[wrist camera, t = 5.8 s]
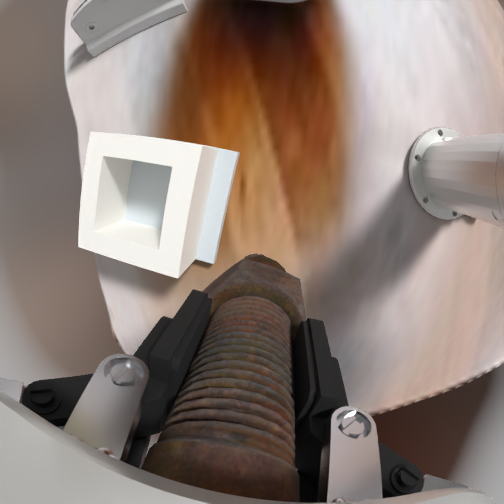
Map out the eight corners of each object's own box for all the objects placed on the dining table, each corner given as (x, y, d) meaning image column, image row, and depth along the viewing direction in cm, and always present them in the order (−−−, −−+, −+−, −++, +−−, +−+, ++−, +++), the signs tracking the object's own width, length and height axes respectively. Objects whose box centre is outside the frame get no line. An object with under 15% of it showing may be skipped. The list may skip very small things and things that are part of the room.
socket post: (239, 152, 32) (226, 147, 24) (215, 260, 36) (198, 286, 28) (115, 133, 32) (77, 128, 24) (102, 228, 36) (65, 244, 28)
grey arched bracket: (92, 58, 29) (55, 26, 19) (96, 41, 29) (63, 11, 19) (190, 10, 26) (163, -37, 16) (188, -3, 26) (164, -46, 16)
